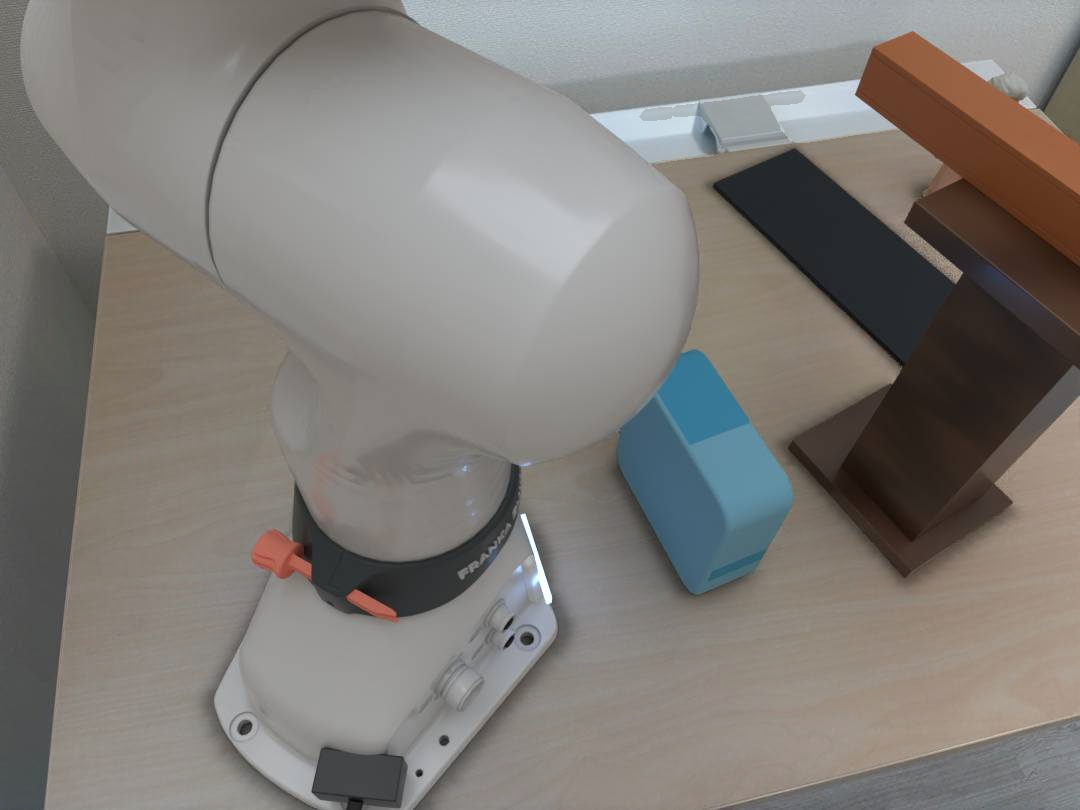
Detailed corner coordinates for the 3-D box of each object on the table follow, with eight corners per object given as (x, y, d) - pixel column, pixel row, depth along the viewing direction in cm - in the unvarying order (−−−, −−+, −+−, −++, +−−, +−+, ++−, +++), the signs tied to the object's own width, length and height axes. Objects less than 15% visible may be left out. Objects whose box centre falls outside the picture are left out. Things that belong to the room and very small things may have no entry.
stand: (787, 447, 62) (914, 200, 42) (885, 391, 65) (1045, 137, 45) (905, 578, 57) (1114, 363, 37) (1005, 510, 60) (1248, 278, 40)
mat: (712, 186, 78) (713, 182, 78) (793, 151, 81) (795, 147, 81) (916, 380, 66) (919, 376, 66) (1003, 330, 69) (1006, 326, 69)
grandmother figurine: (934, 223, 76) (1000, 103, 66) (903, 198, 78) (964, 77, 67) (992, 195, 78) (1066, 74, 68) (962, 171, 80) (1029, 50, 70)
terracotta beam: (854, 95, 47) (872, 46, 45) (892, 79, 48) (912, 30, 46) (1163, 332, 38) (1209, 287, 35) (1204, 306, 39) (1251, 261, 36)
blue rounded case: (751, 578, 56) (802, 494, 46) (693, 603, 55) (731, 522, 45) (667, 438, 62) (695, 337, 52) (613, 458, 61) (631, 359, 51)
